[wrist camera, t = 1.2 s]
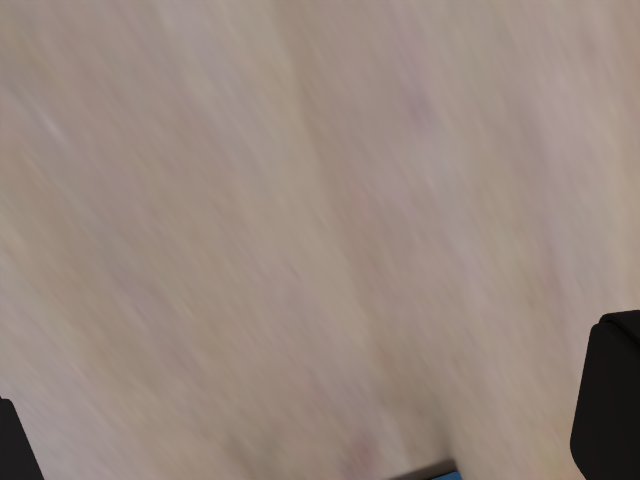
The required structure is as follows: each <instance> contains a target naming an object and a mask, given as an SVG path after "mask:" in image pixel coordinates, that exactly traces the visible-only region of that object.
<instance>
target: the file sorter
mask: <svg viewBox="0 0 640 480" xmlns="http://www.w3.org/2000/svg"><path fill="white" fill-rule="evenodd" d="M432 480H462V478H461V475H460V473H459V472H453V473H450V474H447V475H444V476H441V477H438V478H435V479H432Z"/></svg>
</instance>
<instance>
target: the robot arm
mask: <svg viewBox="0 0 640 480" xmlns="http://www.w3.org/2000/svg"><path fill="white" fill-rule="evenodd" d="M570 450H571V454H572V457H573V459H574V462H575V463H576V465H577V467H578V468H579V470H580V471H581V473H582V474H583V476H584V477H585V479H586V480H640V310H632V311H624V312H616V313H608V314H605V315H603V316H602V317H601V318H600V320H599V323H598V324H595V325H594V326H593V327H592V328H591V331H590V336H589V342H588V347H587V352H586V358H585V363H584V369H583V374H582V379H581V385H580V390H579V395H578V401H577V406H576V411H575V417H574V422H573V428H572V433H571V438H570ZM0 480H44V478H43V475H42V473H41V470H40V468H39V466H38V463H37V461H36V458H35V456H34V453H33V451H32V449H31V446H30V444H29V441H28V439H27V437H26V434H25V432H24V429H23V427H22V424H21V422H20V420H19V417H18V415H17V412H16V410H15V407H14V405H13V403H12V402H11V401H10V400H9V399H2V398H1V397H0Z"/></svg>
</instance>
